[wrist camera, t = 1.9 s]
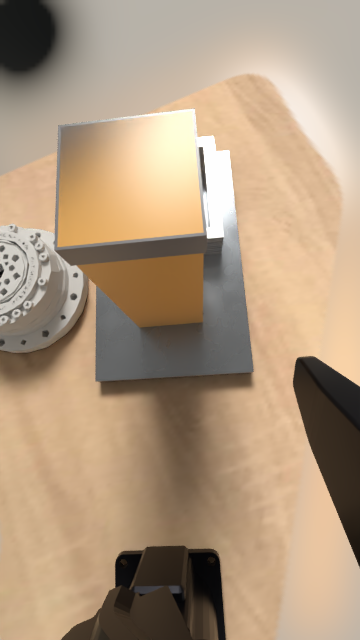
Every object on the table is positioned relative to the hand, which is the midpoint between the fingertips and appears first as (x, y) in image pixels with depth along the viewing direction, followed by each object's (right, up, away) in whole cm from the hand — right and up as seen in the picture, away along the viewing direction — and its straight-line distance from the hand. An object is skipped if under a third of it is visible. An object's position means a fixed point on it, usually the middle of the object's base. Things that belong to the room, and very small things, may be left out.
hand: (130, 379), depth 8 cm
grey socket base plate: (0, +6, +15) cm, 17 cm away
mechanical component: (-11, +4, +16) cm, 20 cm away
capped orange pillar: (+1, +4, +14) cm, 14 cm away
